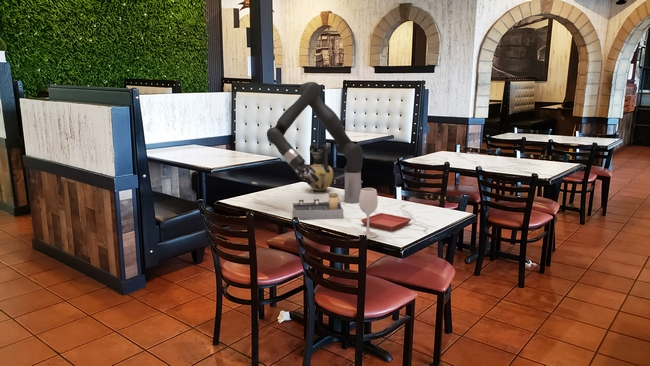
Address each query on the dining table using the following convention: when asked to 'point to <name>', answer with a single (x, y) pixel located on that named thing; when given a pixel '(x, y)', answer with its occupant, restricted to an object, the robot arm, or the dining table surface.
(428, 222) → the dining table surface
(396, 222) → the plant saucer
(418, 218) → the dining table surface
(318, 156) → the amphora
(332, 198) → the lockout cap
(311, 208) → the push button box
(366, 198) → the wineglass
